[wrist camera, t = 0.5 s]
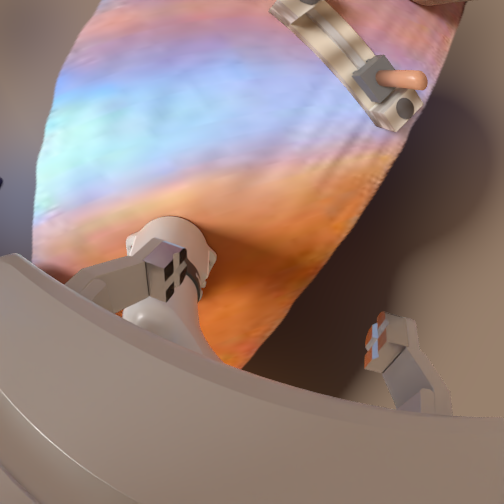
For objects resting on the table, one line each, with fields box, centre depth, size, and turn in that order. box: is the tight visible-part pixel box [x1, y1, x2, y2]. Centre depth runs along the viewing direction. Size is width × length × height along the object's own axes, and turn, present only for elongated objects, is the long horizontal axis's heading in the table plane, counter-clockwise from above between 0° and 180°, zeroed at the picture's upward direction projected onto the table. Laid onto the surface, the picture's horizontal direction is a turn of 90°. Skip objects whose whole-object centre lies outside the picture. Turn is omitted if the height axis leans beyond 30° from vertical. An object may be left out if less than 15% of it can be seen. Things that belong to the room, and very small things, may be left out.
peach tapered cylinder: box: [352, 55, 427, 103], centre depth 33 cm, size 6×7×14 cm
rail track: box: [269, 0, 423, 132], centre depth 35 cm, size 30×9×7 cm, turn 47°
